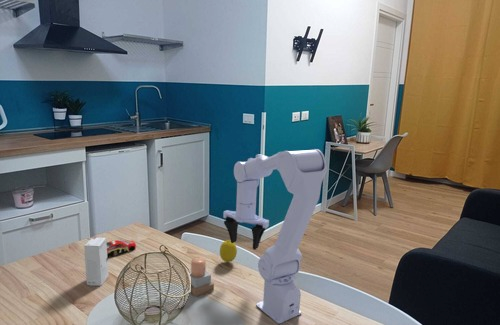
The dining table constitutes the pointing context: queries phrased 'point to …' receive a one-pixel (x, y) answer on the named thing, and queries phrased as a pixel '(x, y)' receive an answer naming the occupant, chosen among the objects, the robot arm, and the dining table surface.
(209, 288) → the walnut slab
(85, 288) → the dining table surface
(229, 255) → the lemon
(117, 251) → the race car
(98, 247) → the skincare box
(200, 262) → the copper rounded cylinder
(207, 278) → the grey slab
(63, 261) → the dining table surface
